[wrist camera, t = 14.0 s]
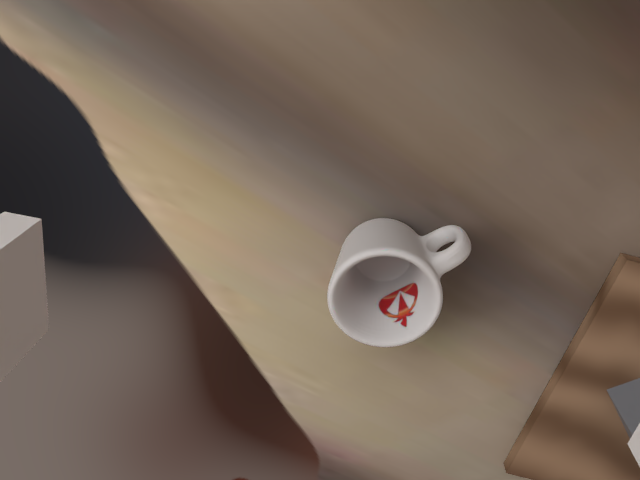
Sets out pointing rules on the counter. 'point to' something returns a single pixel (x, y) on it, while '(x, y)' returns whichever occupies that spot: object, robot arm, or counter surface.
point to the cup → (392, 280)
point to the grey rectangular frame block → (627, 404)
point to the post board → (588, 393)
